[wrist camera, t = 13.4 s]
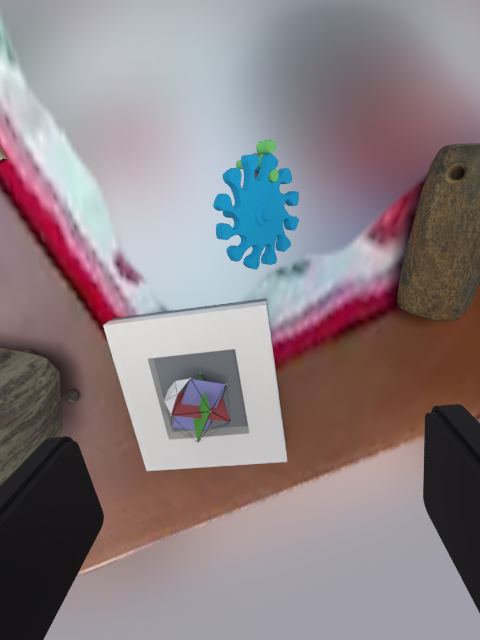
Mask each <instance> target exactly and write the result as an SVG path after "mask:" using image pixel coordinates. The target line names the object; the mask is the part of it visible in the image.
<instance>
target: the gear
mask: <svg viewBox="0 0 480 640" xmlns="http://www.w3.org/2000/svg"><path fill="white" fill-rule="evenodd" d="M275 148H276V145H275V142H274V141H273V140H265V141H260V142H258V144H257V152H258V153H254V154H252V155H245V156H242V158H241V161H238V162H237V164H236V166H237V168H231V169H229V170H227V171H226V172H225V173H224V174H223V180H224V181H225V183H226V184H228V185H229V187H230V188H231V190H232V192H233V195H234V199H235V205H234V207H233V206H232V202H231V199H230V197H229V195H227V194H218V195H217V197H216V199H215V201H214V205H213V206H214V208H215V209H216V210H218V211H223V215H224V216H225V217H229V218H233V219H234V227H233V228H232V227H231V226H230V225H229V224H224V223H219V224H217V226H216V235H217V238H218V239H223V240H224V239H225V240H227V239H229V238H230V237H232V236H234V235H239V236H240V237H241V243H240V245H239V246H229V247H228V248H227V254H228V256H229V258H230V259H231V260H232V261H240V260H241V258H242V256H243V254H244V252H245V251H246V250H247V249H248V248H249V247H251V246H252V247H253V251H252V253H251V254H250V255H248V256H246V258H245V259H244V262H243V264H244V265H245V266H247V267H248V268H252V269H257V268H258V267H259V260H260V255H261V252H262V250H263V249H264V247H265V246H266V249H265V252H264V254H263V255H262V258H261V262H262V263H263V264H268V265H272V264H275V263H276V260H277V258H276V255H275V247H274V245H275V240H276V237H277V241H276V249H277V250H278V251H283V252H284V251H286V250H287V249H288V248H289V247H290V245H291V243H290V240H289V239H288V238H287V237H286V236H285V233H284V229H283V221H284V226H285V228H286V229H287V230H295V229H296V227H297V224H298V221H299V220H298V218H297V217H293V216H290V215H289V214H288V213H287V212H286V210H285V208H284V203H286V204H287V205H288V206H296V205H298V200H299V199H298V198H299V194H298V192H296V191H290V192H287V193H286V194H281V193H280V191H279V186H280V184H287V183H290V182H291V181H292V175H291V172H290V170H289V168H285V169H280V170H279V171H277V170H276V169H275V168H276V167H277V165H278V160H277V159H276V157H275V156H273V155H272V154H269V153H273V152H274V151H275ZM240 169H243V170H244V185H243V188H241V186H240V182H241V171H240Z"/></svg>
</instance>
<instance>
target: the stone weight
mask: <svg viewBox="0 0 480 640" xmlns="http://www.w3.org/2000/svg"><path fill="white" fill-rule="evenodd" d="M479 282H480V143H476V144H454V145H448V146H445V147H443V148H442V149H441V150H440V151H439V152H438V153H437V155H436V157H435V159H434V160H433V162H432V164H431V166H430V169H429V171H428V174H427V176H426V179H425V183H424V186H423V188H422V192H421V196H420V199H419V203H418V207H417V211H416V215H415V219H414V222H413V227H412V231H411V234H410V238H409V241H408V245H407V249H406V253H405V258H404V262H403V266H402V270H401V276H400V282H399V289H398V299H397V302H398V306H399V307H400V308H401V309H403V310H405V311H406V312H409V313H411V314H415V315H417V316H420V317H423V318H425V319H429V320H434V321H446V322H449V321H455V320H458V319H460V318H461V317H462V315H463V314H464V313H465V312H466V310H467V309H468V307H469V305H470V303H471V301H472V299H473V297H474V294H475V292H476V289H477V287H478V285H479Z"/></svg>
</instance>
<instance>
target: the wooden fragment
mask: <svg viewBox="0 0 480 640" xmlns="http://www.w3.org/2000/svg"><path fill="white" fill-rule="evenodd" d="M1 159H8V157H7V156H6V154H5V153H4V151H3V149H2V147H1V145H0V160H1Z"/></svg>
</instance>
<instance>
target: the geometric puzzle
mask: <svg viewBox="0 0 480 640" xmlns="http://www.w3.org/2000/svg"><path fill="white" fill-rule="evenodd" d="M198 375H199V377H198V379H192V378H193V377H192V378H190V379H183V380H177V381H175V382H174V383H173V384H172V386H171V387H170V388H169V390H167V391H168V392H167V394H166V397H165V400H164V403H165V405H166V406H167V408H168V410H169V412H170V414H171V415H170V416H172V417H173V416H176V418H174V417H173V418H174V419H175V421H174V424H173V426H172V427H171V428H180V429H190V430H195V432H196V437H197V441H196V440H195V439H194V438H193V437H192V436H191V435H190V434H189V435H190V436H191V437H192V438H193V439H194V440H195V441H196V442H197V444H198V442H200V440H201V438H202V437H203V436H204V435H203V436H202V437H201V435H202V432H203V431H206V432H207V431H209V430H208V428H209V426H210V424H211V422H212V420H216V421H225V422H229V423H232V422H231V419H230V418H229V415H228V412H227V409H226V406H225V403H224V400H223V397H221V396H222V393H223V391H224V392H225V389H226V387H227V383H226V384H225V383H224V384H223V383H216V382H210V381H207V380H206V379H205V378H204V377H203V376H202V375H203V374H202V375H201V373H200V374H198ZM196 376H197V375H196ZM201 376H202V377H203V378H204V379H205V380H206V381H204V380H202V379H201ZM204 376H205V375H204ZM194 377H195V376H194ZM209 378H210V377H209ZM214 380H215V379H214ZM188 381H189V382H188ZM187 382H188V383H189V384H188V383H187ZM219 382H220V381H219ZM186 383H187V385H188V386H187V385H186ZM185 385H186V387H187V389H186V387H185V389H186V392H185V393H183V392H184V391H185V389H184V391H183V392H180V391H181V390H182V388H183V387H184V386H185ZM223 396H224V393H223ZM227 396H228V393H227ZM228 404H229V402H228ZM229 412H230V410H229ZM172 417H171V423H172ZM229 423H226V424H229ZM224 425H225V424H224ZM221 426H222V425H221ZM225 426H226V425H225ZM218 427H219V426H218ZM215 428H217V427H215ZM213 429H214V428H213ZM220 429H221V428H220ZM175 430H176V429H175ZM210 430H211V429H210ZM217 431H218V430H217ZM206 432H205V433H206ZM215 432H216V431H215ZM180 433H181V432H180ZM205 433H204V434H205ZM212 434H213V433H212ZM185 436H186V435H185ZM209 436H210V435H209ZM187 437H188V436H187ZM200 437H201V438H200ZM207 437H208V436H207ZM190 439H191V438H190ZM193 439H192V440H193ZM199 439H200V440H199ZM204 439H205V438H204Z"/></svg>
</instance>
